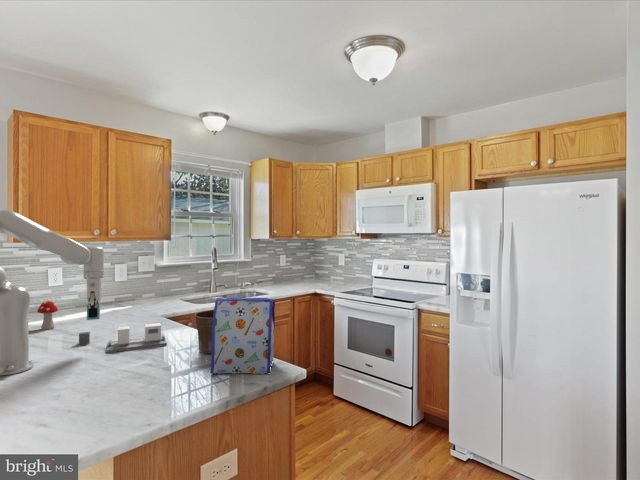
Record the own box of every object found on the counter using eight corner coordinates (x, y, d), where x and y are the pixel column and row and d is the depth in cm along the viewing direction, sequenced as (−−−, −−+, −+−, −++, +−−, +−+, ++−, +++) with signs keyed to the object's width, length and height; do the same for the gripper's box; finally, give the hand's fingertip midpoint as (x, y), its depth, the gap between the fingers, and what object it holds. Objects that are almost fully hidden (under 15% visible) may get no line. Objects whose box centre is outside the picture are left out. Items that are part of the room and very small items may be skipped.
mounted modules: (161, 339, 171) (160, 325, 171) (117, 344, 163) (117, 330, 163) (160, 336, 176) (160, 323, 176) (118, 341, 168) (118, 327, 168)
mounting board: (166, 345, 168) (166, 342, 168) (106, 353, 157) (106, 350, 157) (164, 338, 181) (164, 335, 181) (108, 344, 170) (108, 341, 170)
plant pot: (240, 348, 164) (240, 312, 164) (213, 358, 150) (213, 319, 150) (214, 342, 172) (214, 308, 172) (186, 352, 158) (186, 315, 158)
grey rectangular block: (89, 343, 171) (89, 333, 171) (78, 345, 169) (78, 334, 169) (89, 342, 174) (89, 331, 174) (79, 343, 172) (79, 332, 172)
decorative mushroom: (33, 329, 197) (33, 301, 197) (49, 326, 205) (49, 299, 205) (46, 331, 194) (46, 303, 193) (62, 327, 202) (62, 300, 202)
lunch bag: (276, 360, 148) (276, 293, 148) (273, 375, 131) (273, 301, 131) (219, 361, 147) (219, 294, 147) (209, 377, 130) (208, 301, 130)
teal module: (99, 319, 159) (99, 303, 159) (86, 320, 157) (86, 304, 157) (100, 316, 164) (100, 301, 164) (88, 317, 162) (88, 302, 162)
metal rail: (164, 340, 172) (164, 336, 172) (108, 346, 162) (108, 342, 162) (164, 338, 176) (164, 334, 176) (108, 344, 165) (108, 340, 165)
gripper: (102, 276, 155) (102, 319, 155) (104, 272, 170) (104, 311, 170) (81, 277, 152) (80, 320, 152) (85, 273, 167) (85, 313, 167)
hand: (93, 315), depth 161 cm, fingers closed on teal module, 5 cm apart
